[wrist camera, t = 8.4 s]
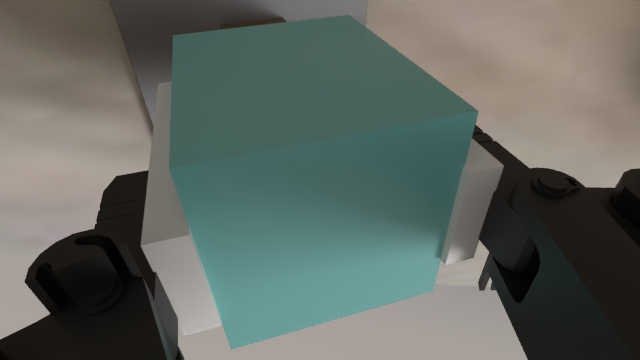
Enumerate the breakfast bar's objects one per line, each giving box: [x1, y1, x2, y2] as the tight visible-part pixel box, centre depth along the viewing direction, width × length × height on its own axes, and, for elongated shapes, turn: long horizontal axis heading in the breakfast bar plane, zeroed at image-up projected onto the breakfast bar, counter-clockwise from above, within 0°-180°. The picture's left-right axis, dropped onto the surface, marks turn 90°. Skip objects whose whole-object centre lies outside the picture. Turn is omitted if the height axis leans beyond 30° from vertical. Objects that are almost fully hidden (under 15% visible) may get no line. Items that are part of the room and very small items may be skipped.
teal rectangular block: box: [169, 15, 479, 349], centre depth 10 cm, size 5×5×7 cm
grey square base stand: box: [110, 0, 367, 126], centre depth 14 cm, size 10×10×7 cm
